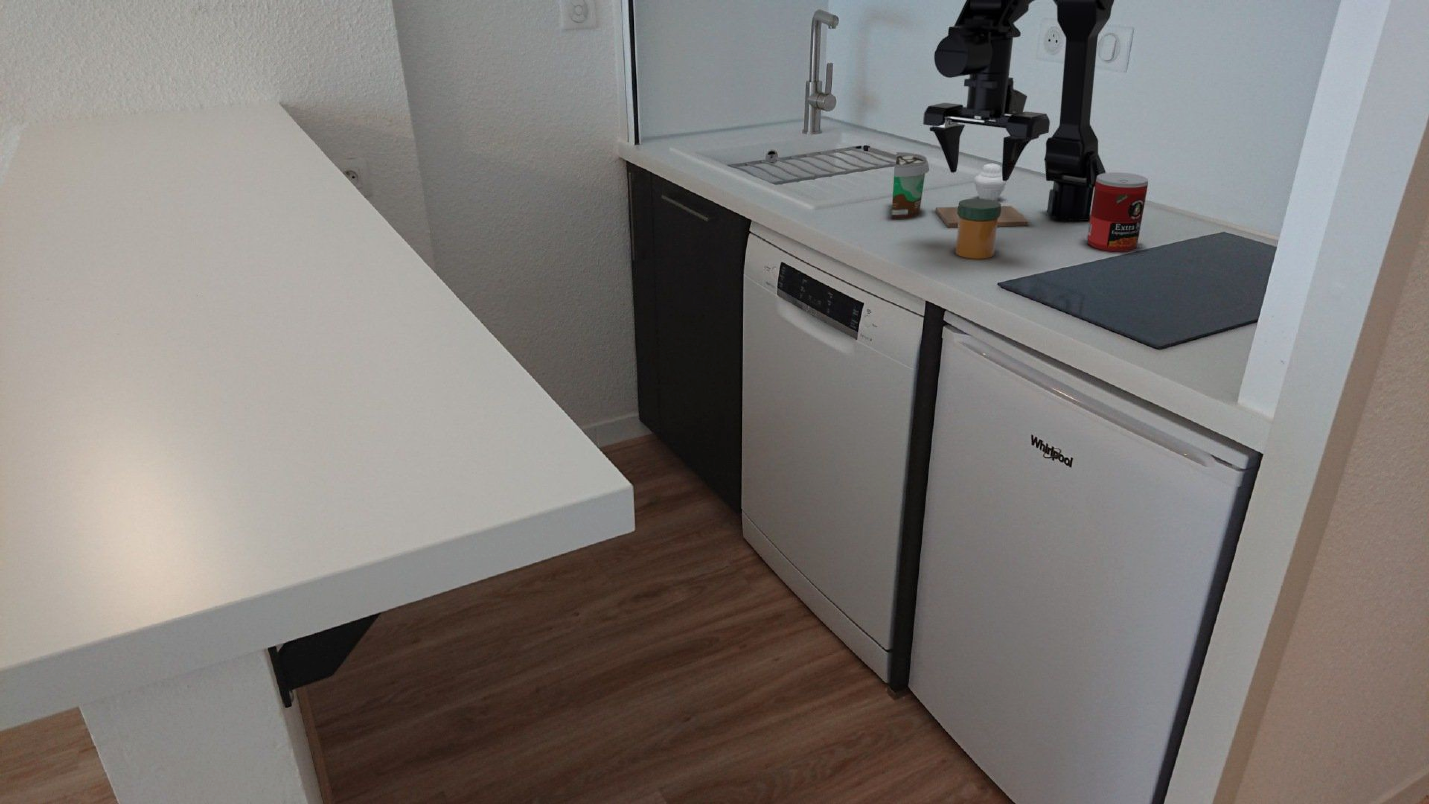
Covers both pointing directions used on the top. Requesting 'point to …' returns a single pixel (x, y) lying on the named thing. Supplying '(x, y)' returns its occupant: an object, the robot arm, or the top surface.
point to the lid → (979, 209)
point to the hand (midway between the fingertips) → (978, 176)
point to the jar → (976, 238)
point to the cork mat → (1006, 218)
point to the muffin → (990, 182)
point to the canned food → (1117, 211)
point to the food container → (908, 184)
